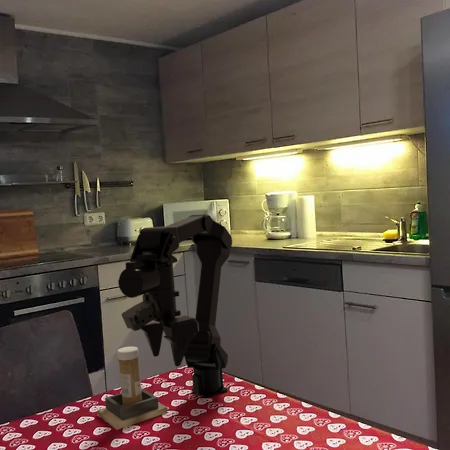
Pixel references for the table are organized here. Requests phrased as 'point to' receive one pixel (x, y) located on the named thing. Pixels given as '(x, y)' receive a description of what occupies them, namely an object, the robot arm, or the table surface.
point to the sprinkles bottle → (129, 375)
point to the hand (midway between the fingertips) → (166, 360)
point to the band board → (130, 410)
